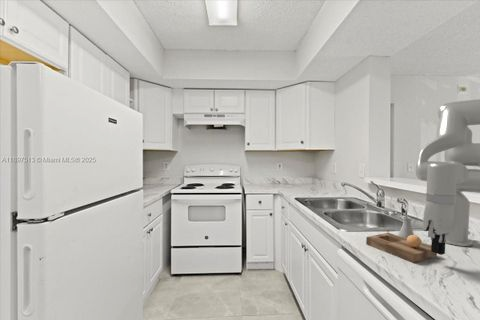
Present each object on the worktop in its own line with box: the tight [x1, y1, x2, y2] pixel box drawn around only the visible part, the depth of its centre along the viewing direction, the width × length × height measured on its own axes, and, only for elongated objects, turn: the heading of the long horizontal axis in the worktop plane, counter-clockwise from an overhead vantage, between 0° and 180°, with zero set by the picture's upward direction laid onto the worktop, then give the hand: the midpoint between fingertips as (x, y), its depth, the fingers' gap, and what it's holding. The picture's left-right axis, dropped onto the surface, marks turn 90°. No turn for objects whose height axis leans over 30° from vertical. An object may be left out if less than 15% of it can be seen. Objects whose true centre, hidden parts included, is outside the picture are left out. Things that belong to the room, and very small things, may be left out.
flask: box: [397, 216, 415, 238], centre depth 101 cm, size 7×7×10 cm
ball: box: [407, 234, 423, 248], centre depth 87 cm, size 4×4×4 cm
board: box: [365, 232, 438, 264], centre depth 91 cm, size 14×18×3 cm
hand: (437, 252), depth 80 cm, fingers closed
